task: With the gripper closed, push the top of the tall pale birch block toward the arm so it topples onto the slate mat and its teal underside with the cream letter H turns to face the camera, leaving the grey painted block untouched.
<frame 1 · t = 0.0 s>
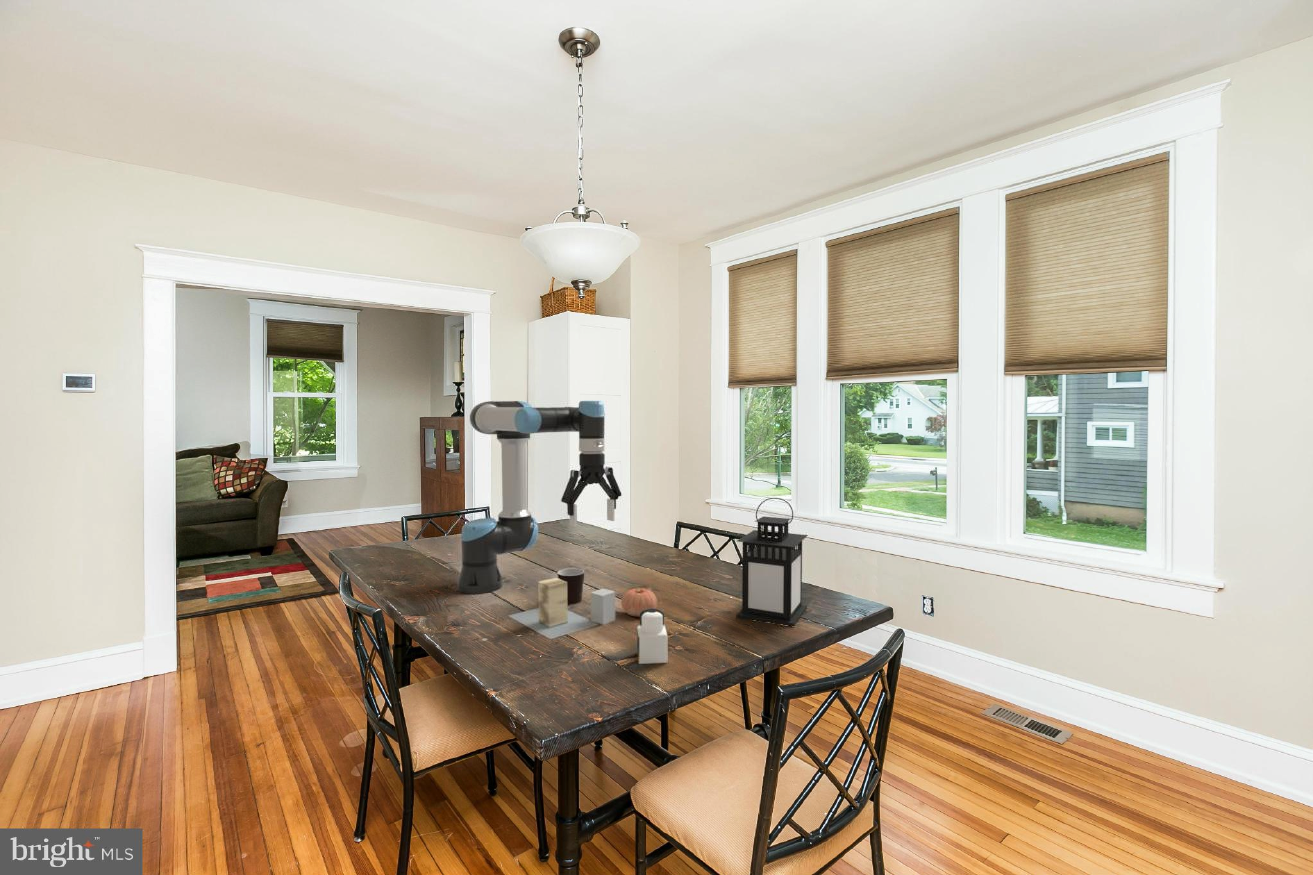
hand: (592, 523, 182), 28 cm above the table, fingers open, 13 cm apart
lantern: (772, 614, 185), on the table
slate mat: (552, 622, 178), on the table
orange ribbed round piece: (639, 615, 184), on the table
birch block: (553, 622, 176), point 1 cm above the table, touching slate mat
grey painted block: (603, 622, 178), on the table
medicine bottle: (652, 658, 153), on the table
coffee mug: (572, 601, 197), on the table
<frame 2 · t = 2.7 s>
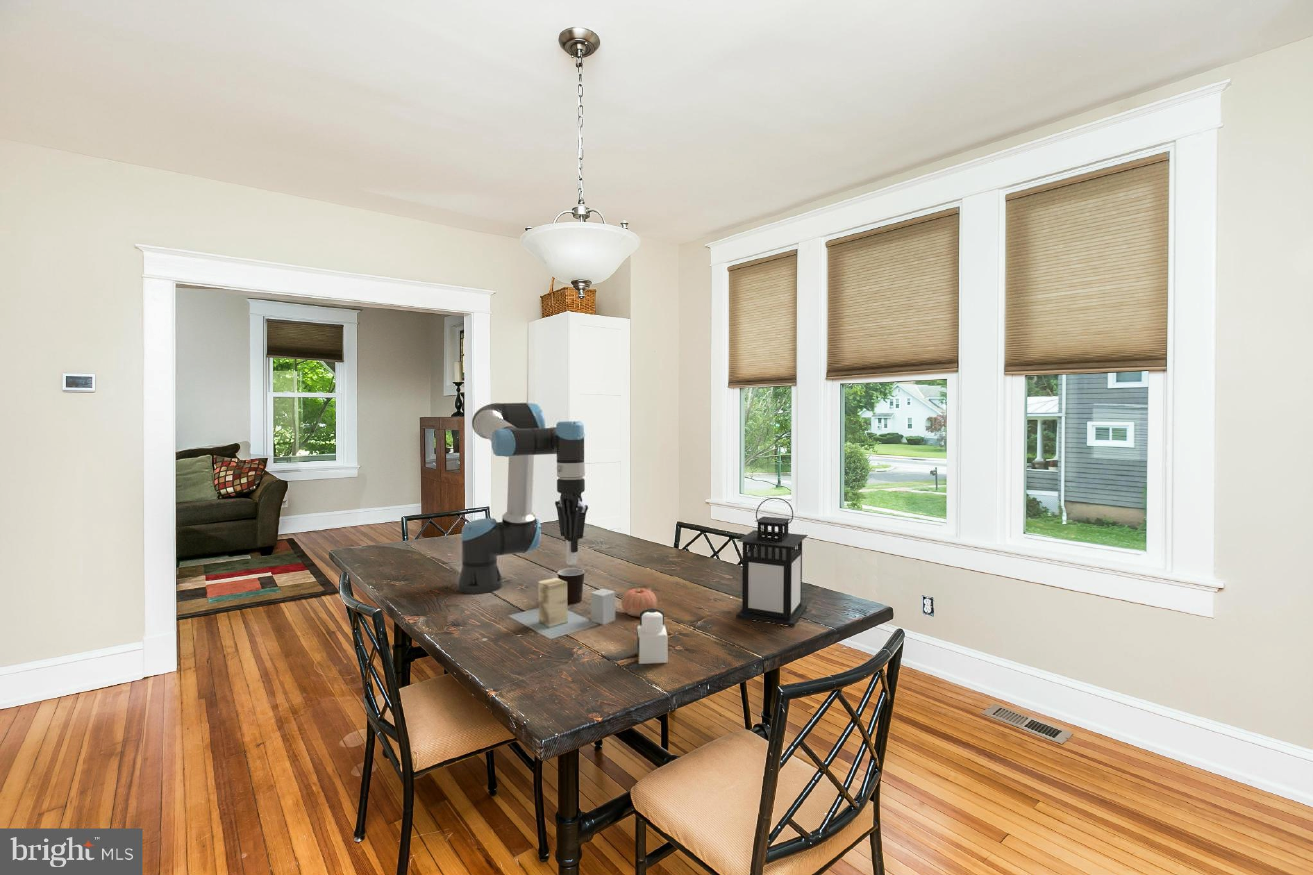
hand: (571, 563, 167), 20 cm above the table, fingers closed
nothing on the table moved.
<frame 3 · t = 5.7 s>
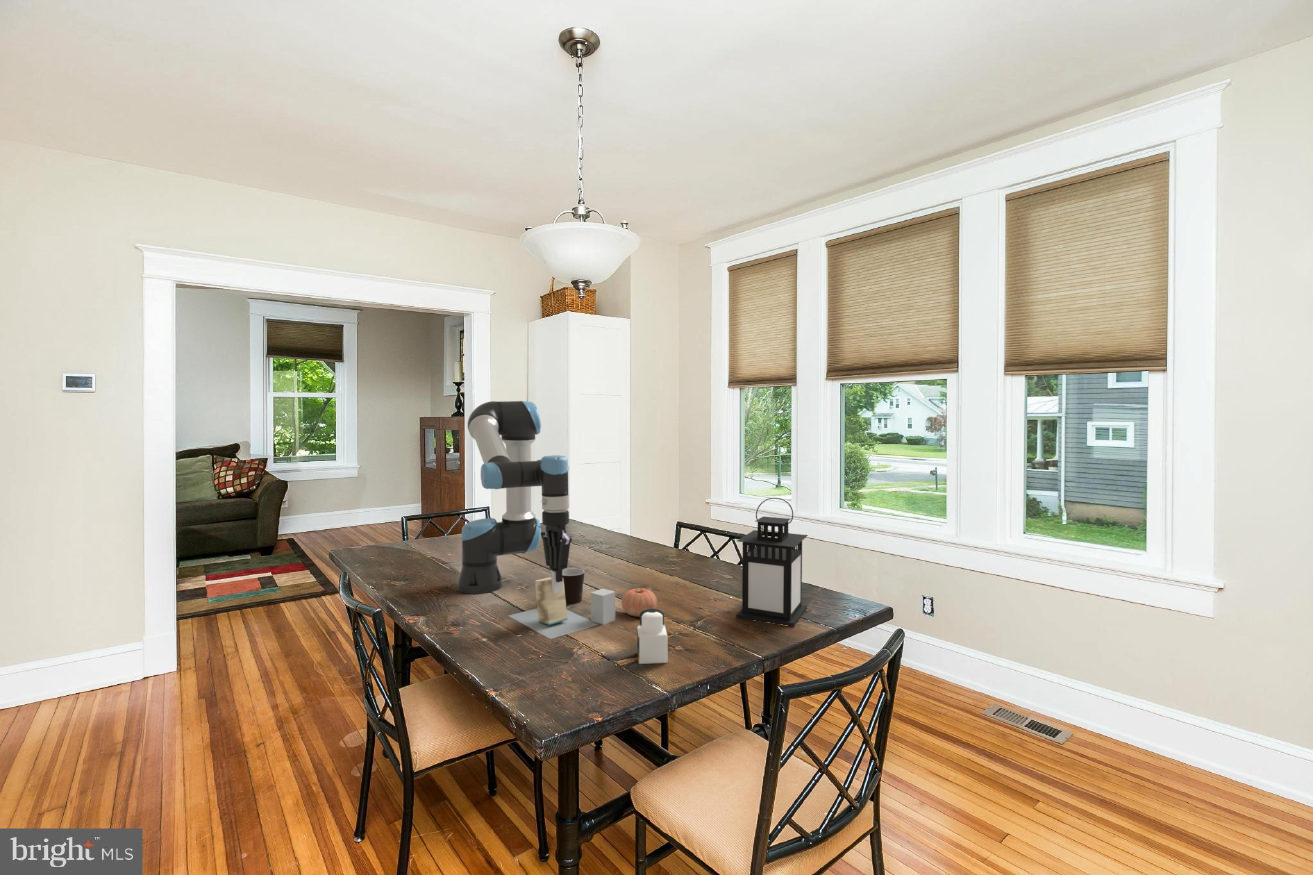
hand: (557, 592, 174), 10 cm above the table, fingers closed
birch block: (553, 621, 176), point 1 cm above the table, tilted 9°, touching gripper, slate mat
everything else where it was.
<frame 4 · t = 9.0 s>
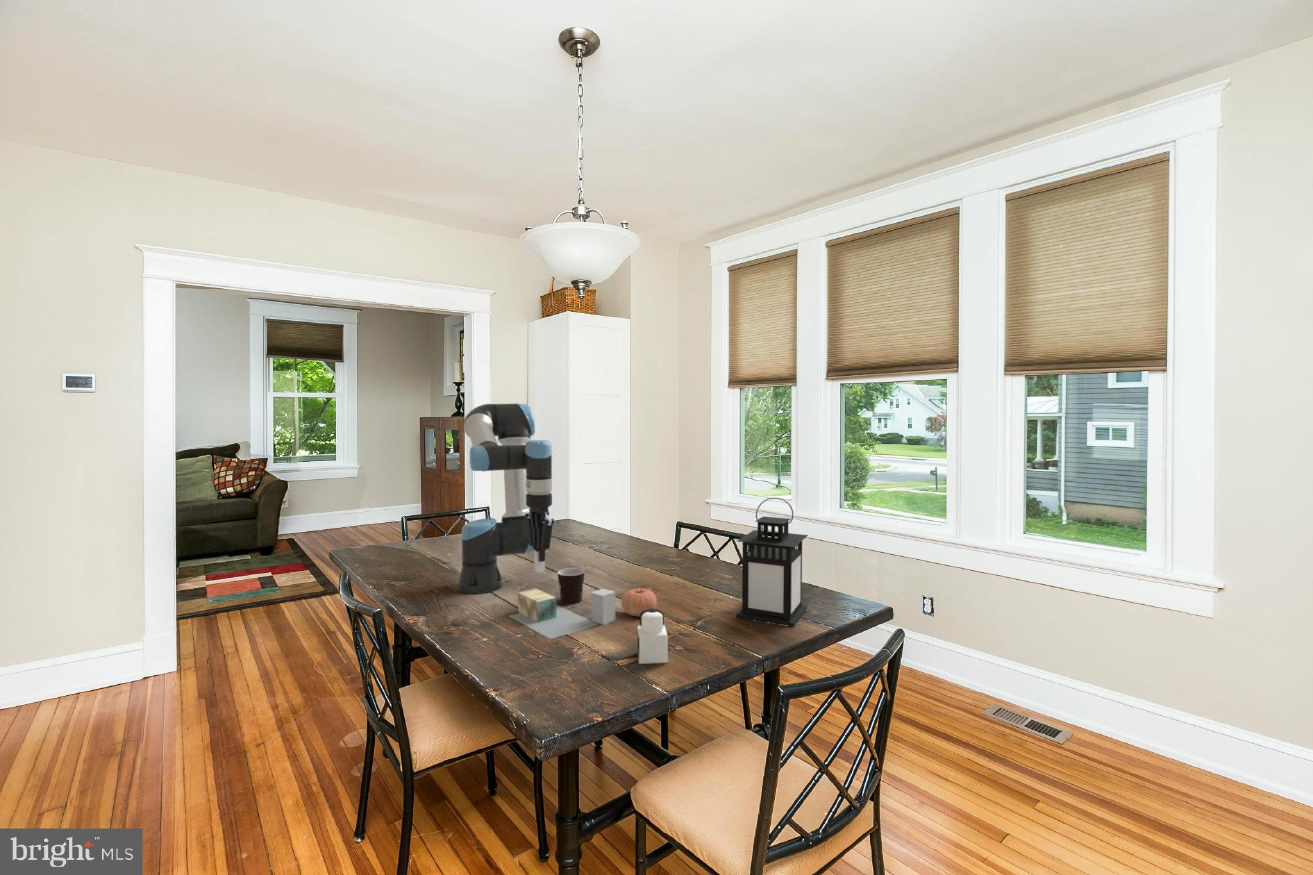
hand: (539, 571, 181), 14 cm above the table, fingers closed
birch block: (547, 609, 178), point 4 cm above the table, tilted 90°, touching slate mat
everything else where it was.
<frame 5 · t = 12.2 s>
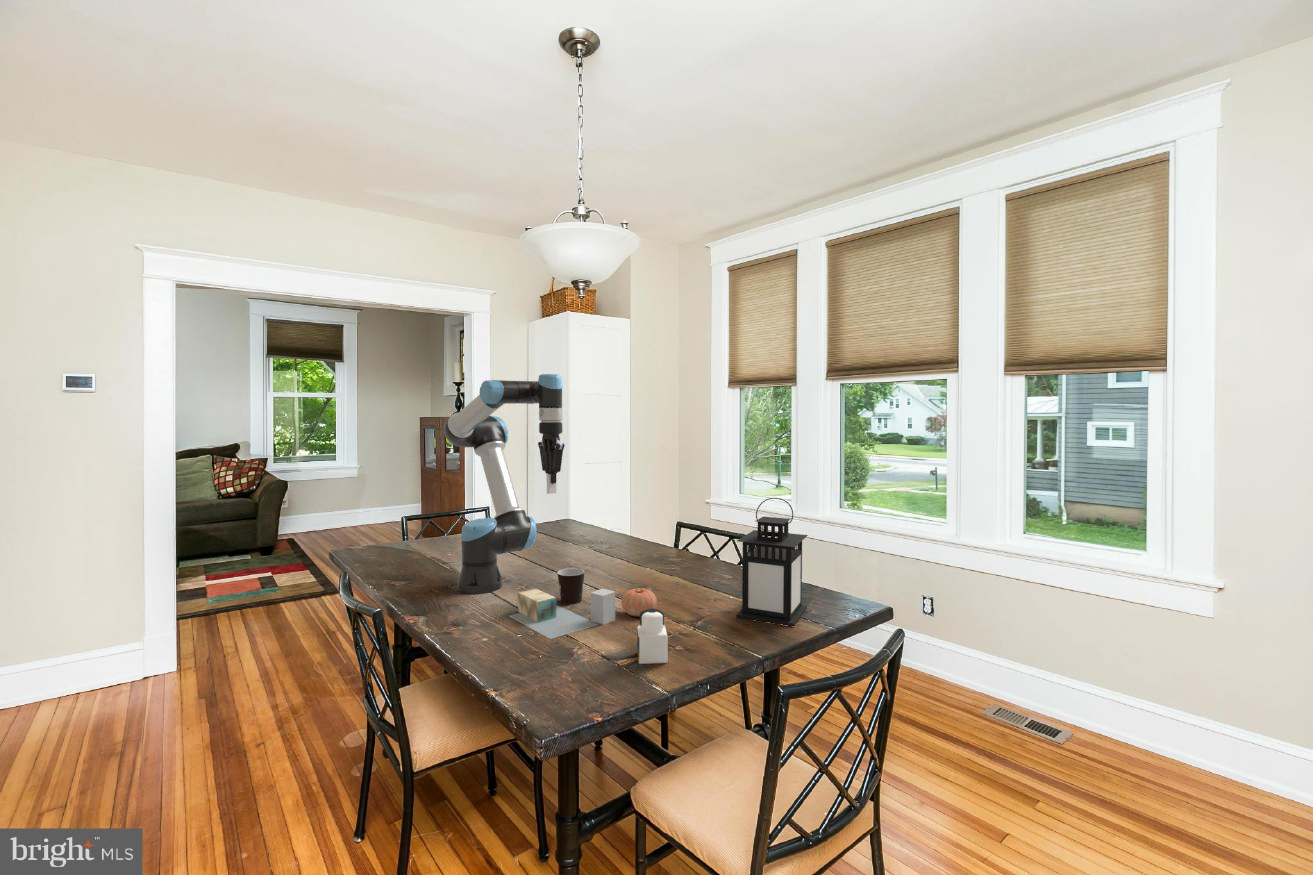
hand: (551, 493, 201), 34 cm above the table, fingers closed
nothing on the table moved.
at the end: birch block tilted 90°; birch block inside the target area (1.0 cm from its centre), point 3.6 cm above the table; grey painted block moved 0.0 cm from its start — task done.
